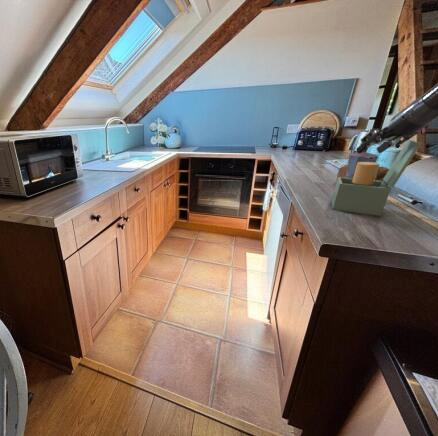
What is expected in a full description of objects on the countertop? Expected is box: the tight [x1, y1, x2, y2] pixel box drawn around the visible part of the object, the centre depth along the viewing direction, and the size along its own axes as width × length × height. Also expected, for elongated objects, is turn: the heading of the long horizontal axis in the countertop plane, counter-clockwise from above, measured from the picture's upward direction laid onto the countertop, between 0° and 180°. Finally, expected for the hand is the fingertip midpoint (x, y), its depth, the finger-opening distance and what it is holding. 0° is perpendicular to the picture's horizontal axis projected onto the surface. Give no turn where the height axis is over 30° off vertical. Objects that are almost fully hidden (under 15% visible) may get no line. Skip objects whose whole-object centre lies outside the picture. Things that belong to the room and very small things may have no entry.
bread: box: [335, 164, 390, 185], centre depth 119 cm, size 19×11×10 cm, turn 73°
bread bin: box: [331, 177, 392, 217], centre depth 90 cm, size 14×12×10 cm
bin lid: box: [383, 139, 422, 189], centre depth 81 cm, size 14×12×1 cm
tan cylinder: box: [352, 162, 380, 185], centre depth 87 cm, size 6×6×7 cm
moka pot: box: [345, 148, 379, 179], centre depth 103 cm, size 10×15×20 cm, turn 170°
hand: (368, 151), depth 85 cm, fingers open, 7 cm apart
